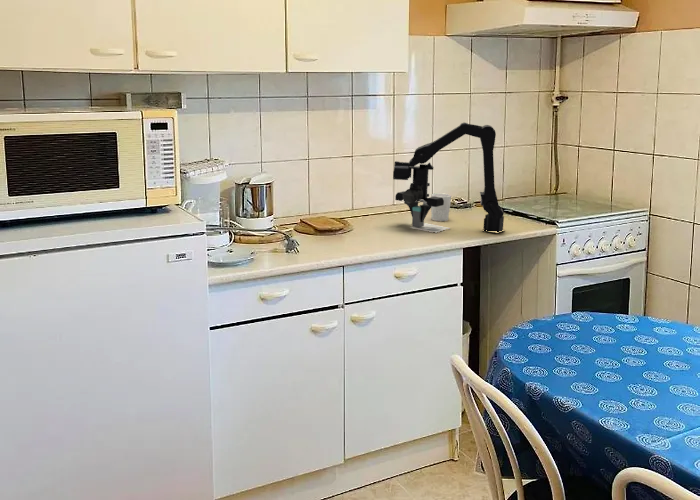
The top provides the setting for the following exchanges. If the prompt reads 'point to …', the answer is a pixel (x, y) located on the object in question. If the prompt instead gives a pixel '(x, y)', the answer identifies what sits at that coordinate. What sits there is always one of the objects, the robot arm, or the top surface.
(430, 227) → the paper
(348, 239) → the top surface
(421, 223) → the cylinder
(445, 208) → the white cup
